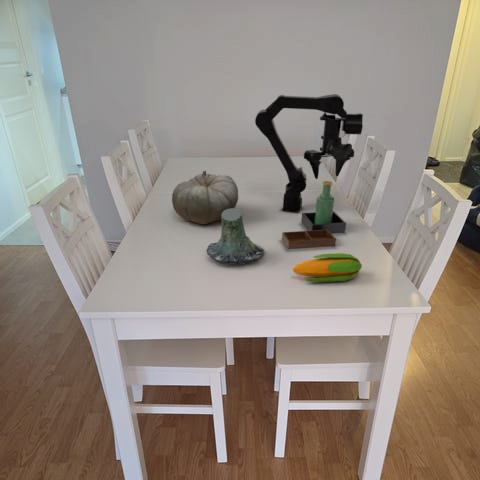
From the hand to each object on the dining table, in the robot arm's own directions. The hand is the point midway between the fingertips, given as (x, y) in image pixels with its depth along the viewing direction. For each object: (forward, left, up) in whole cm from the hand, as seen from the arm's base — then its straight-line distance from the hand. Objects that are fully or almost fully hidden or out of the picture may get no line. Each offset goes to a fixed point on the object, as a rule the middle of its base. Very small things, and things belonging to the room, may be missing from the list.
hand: (326, 177), depth 171 cm
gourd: (-40, -24, -13) cm, 48 cm away
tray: (+3, -19, -13) cm, 23 cm away
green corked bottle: (+3, -19, -12) cm, 23 cm away
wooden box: (+2, -34, -13) cm, 37 cm away
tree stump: (-18, -51, -13) cm, 56 cm away
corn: (+12, -57, -13) cm, 60 cm away
